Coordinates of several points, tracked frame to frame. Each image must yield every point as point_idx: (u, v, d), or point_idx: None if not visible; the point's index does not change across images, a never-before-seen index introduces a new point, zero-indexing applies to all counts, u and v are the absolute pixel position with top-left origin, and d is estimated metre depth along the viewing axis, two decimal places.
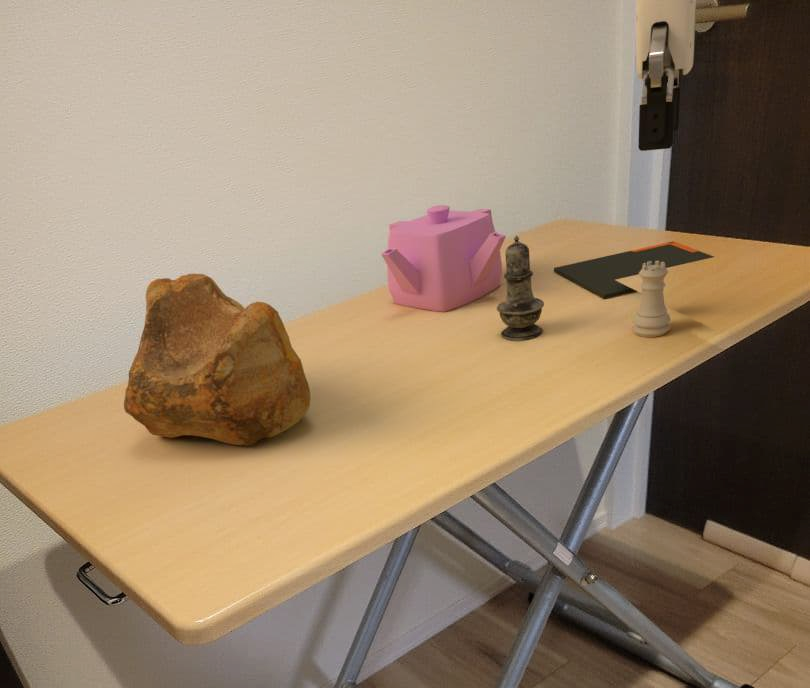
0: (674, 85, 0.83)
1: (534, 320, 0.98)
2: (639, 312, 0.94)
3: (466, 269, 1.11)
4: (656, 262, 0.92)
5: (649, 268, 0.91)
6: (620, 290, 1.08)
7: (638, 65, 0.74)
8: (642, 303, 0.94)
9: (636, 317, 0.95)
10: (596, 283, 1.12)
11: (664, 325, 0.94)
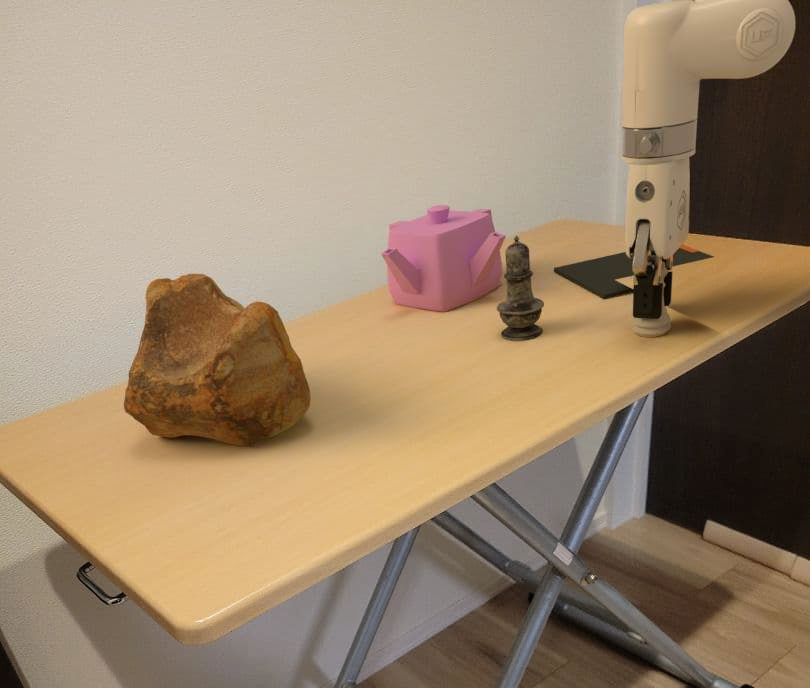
0: (667, 269, 0.93)
1: (534, 320, 0.98)
2: None
3: (466, 269, 1.11)
4: None
5: None
6: (620, 290, 1.08)
7: (626, 249, 0.87)
8: None
9: None
10: (596, 283, 1.12)
11: (664, 325, 0.94)
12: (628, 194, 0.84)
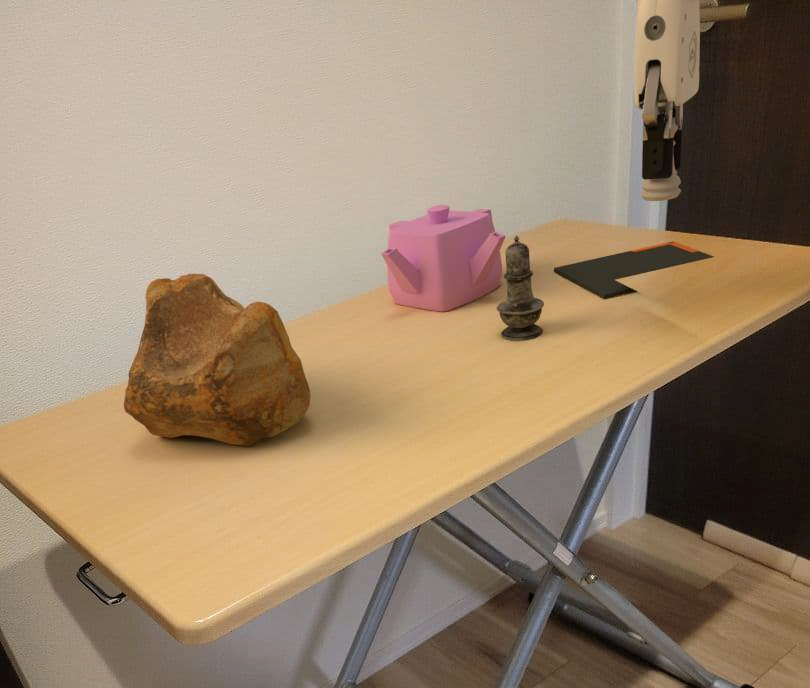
0: None
1: (534, 320, 0.98)
2: None
3: (466, 269, 1.11)
4: None
5: None
6: (620, 290, 1.08)
7: (635, 97, 0.83)
8: None
9: (645, 181, 0.91)
10: (596, 283, 1.12)
11: (674, 187, 0.90)
12: (637, 33, 0.80)
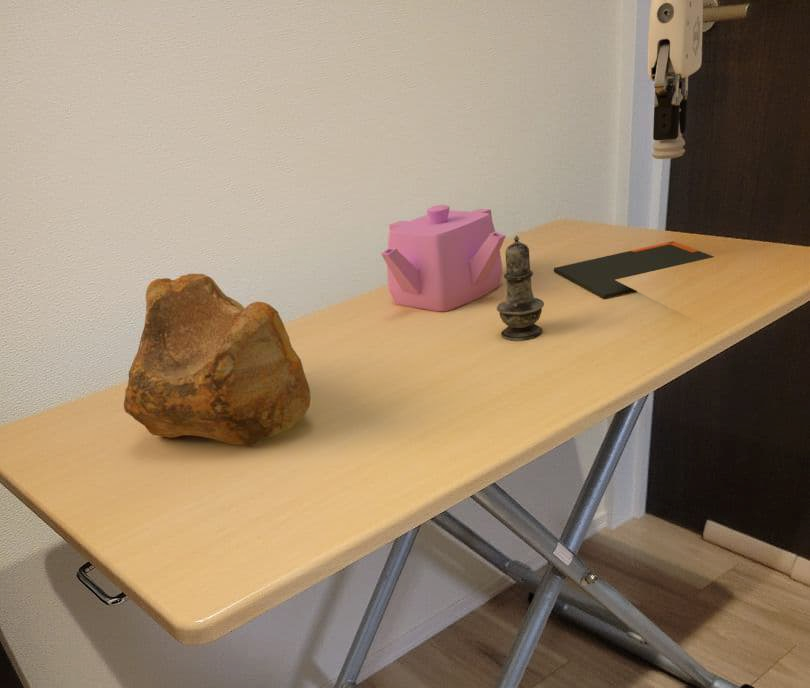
0: None
1: (534, 320, 0.98)
2: None
3: (466, 269, 1.11)
4: None
5: None
6: (620, 290, 1.08)
7: (648, 70, 1.01)
8: None
9: (655, 142, 1.09)
10: (596, 283, 1.12)
11: (680, 147, 1.08)
12: (651, 17, 0.98)
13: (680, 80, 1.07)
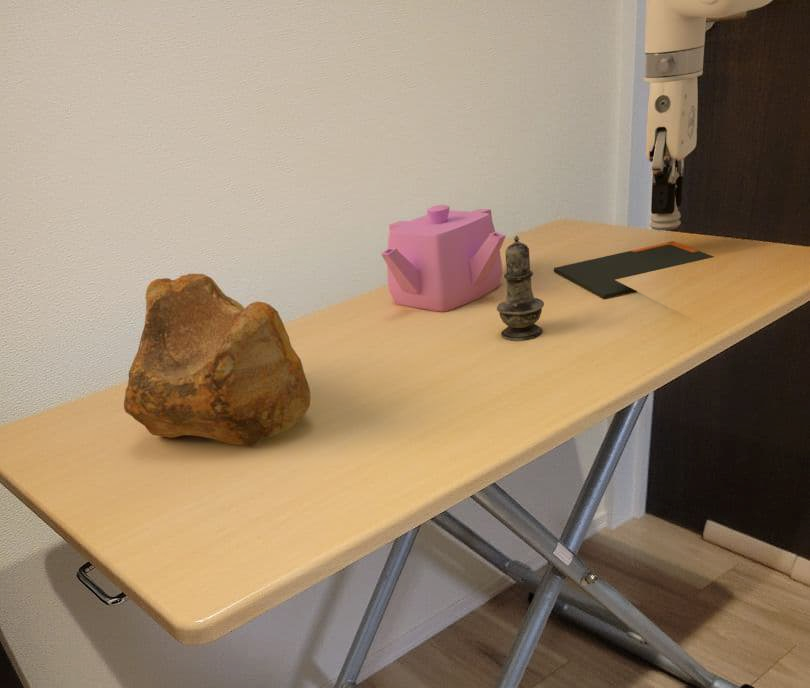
0: (679, 174, 1.15)
1: (534, 320, 0.98)
2: None
3: (466, 269, 1.11)
4: None
5: None
6: (620, 290, 1.08)
7: (647, 153, 1.10)
8: None
9: (653, 214, 1.17)
10: (596, 283, 1.12)
11: (676, 220, 1.16)
12: (649, 107, 1.07)
13: None
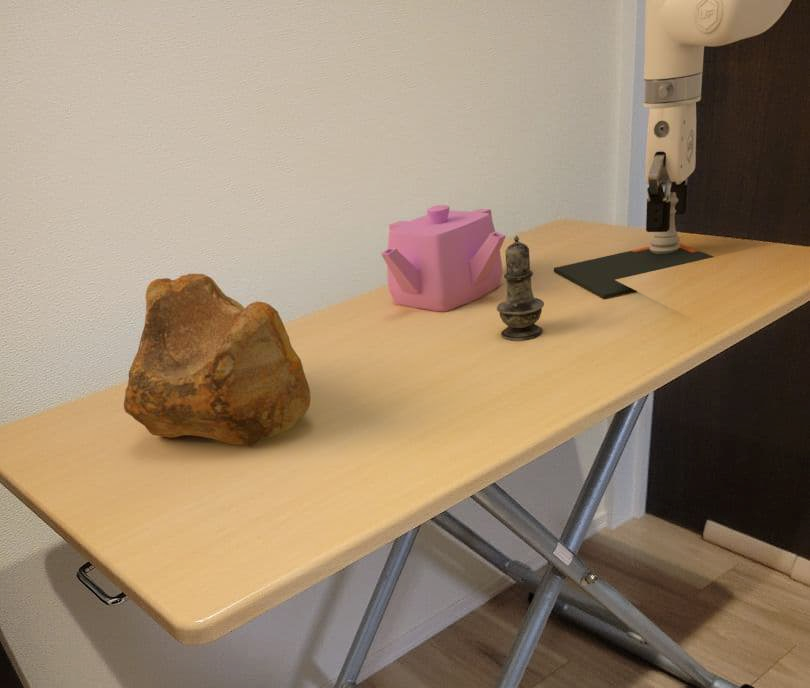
0: (683, 183, 1.18)
1: (534, 320, 0.98)
2: (655, 234, 1.18)
3: (466, 269, 1.11)
4: None
5: None
6: (620, 290, 1.08)
7: (646, 177, 1.11)
8: None
9: (652, 238, 1.19)
10: (596, 283, 1.12)
11: (675, 244, 1.18)
12: (648, 132, 1.08)
13: None
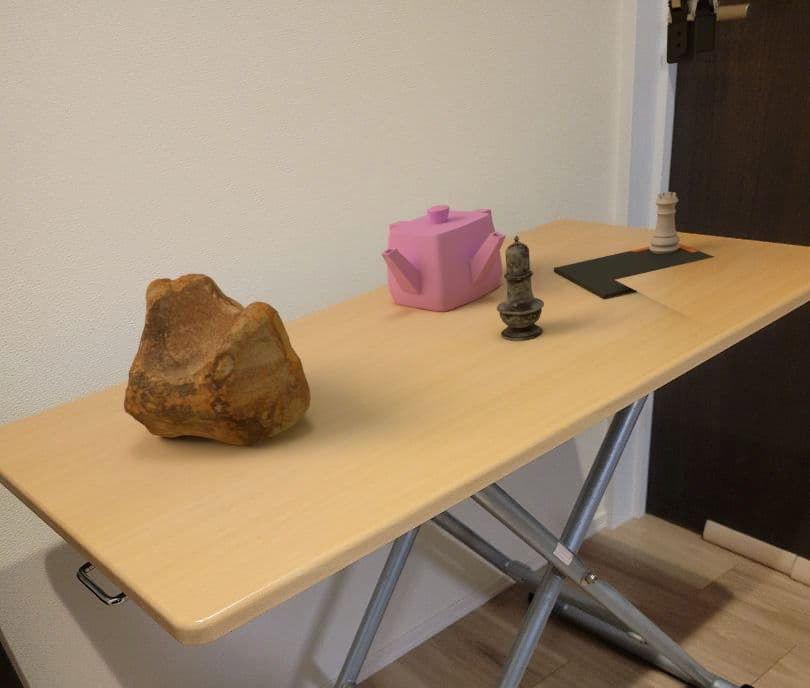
0: (711, 11, 0.98)
1: (534, 320, 0.98)
2: (655, 234, 1.18)
3: (466, 269, 1.11)
4: (669, 193, 1.16)
5: (663, 197, 1.15)
6: (620, 290, 1.08)
7: None
8: (657, 226, 1.18)
9: (652, 238, 1.19)
10: (596, 283, 1.12)
11: (675, 244, 1.18)
12: None
13: None
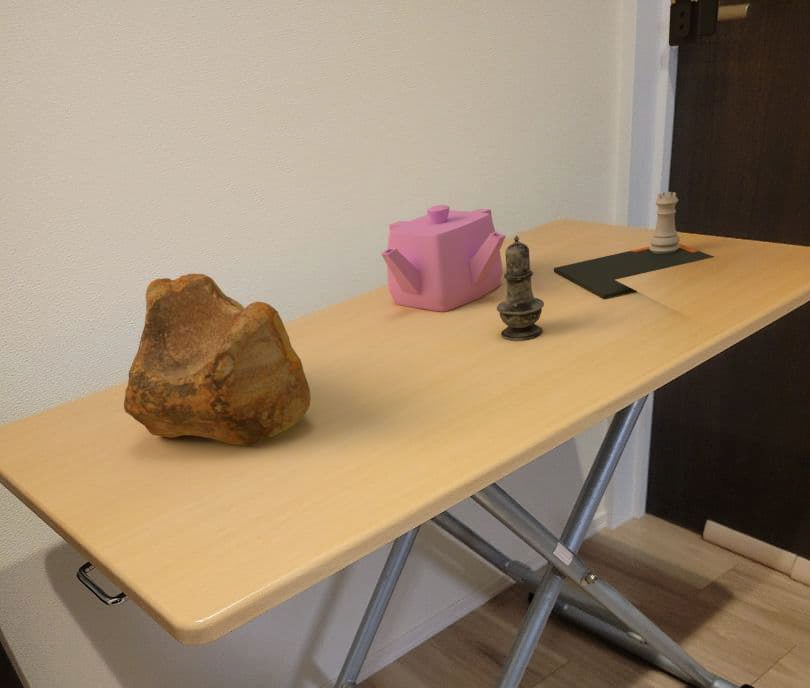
0: None
1: (534, 320, 0.98)
2: (655, 234, 1.18)
3: (466, 269, 1.11)
4: (669, 193, 1.16)
5: (663, 197, 1.15)
6: (620, 290, 1.08)
7: None
8: (657, 226, 1.18)
9: (652, 238, 1.19)
10: (596, 283, 1.12)
11: (675, 244, 1.18)
12: None
13: None
